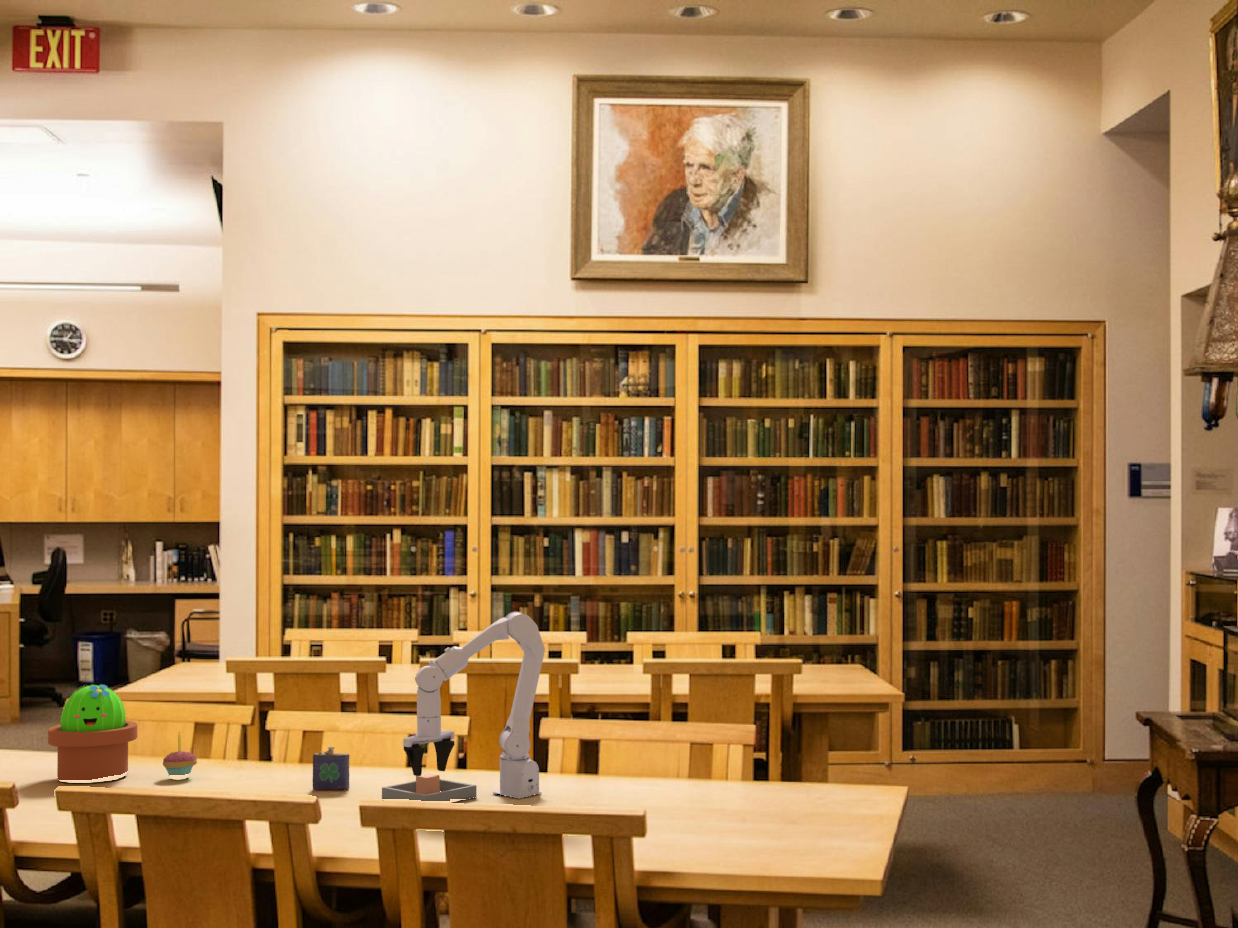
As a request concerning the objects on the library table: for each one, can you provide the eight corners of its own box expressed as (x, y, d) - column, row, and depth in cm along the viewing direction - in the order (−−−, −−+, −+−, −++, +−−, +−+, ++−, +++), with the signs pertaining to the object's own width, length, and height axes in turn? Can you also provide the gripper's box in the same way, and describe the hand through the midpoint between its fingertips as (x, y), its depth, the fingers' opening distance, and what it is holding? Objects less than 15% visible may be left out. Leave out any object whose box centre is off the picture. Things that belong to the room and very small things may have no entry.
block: (439, 796, 332) (439, 775, 332) (426, 798, 329) (426, 777, 329) (428, 794, 334) (428, 773, 334) (415, 796, 331) (415, 775, 331)
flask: (350, 788, 345) (350, 745, 345) (347, 790, 342) (347, 747, 342) (314, 788, 345) (313, 745, 345) (310, 791, 342) (310, 747, 342)
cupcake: (161, 777, 362) (161, 731, 362) (194, 774, 365) (194, 729, 366) (164, 782, 354) (165, 736, 354) (199, 780, 358) (199, 733, 358)
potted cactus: (53, 773, 369) (54, 679, 370) (140, 768, 375) (140, 676, 376) (42, 788, 348) (42, 689, 349) (133, 783, 354) (134, 685, 355)
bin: (476, 797, 332) (476, 785, 332) (425, 808, 320) (425, 795, 320) (432, 789, 342) (432, 777, 342) (381, 799, 330) (381, 787, 330)
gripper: (440, 711, 340) (441, 766, 339) (394, 718, 329) (395, 775, 328) (459, 713, 335) (460, 769, 335) (414, 721, 324) (414, 779, 324)
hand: (429, 772), depth 331 cm, fingers open, 7 cm apart
